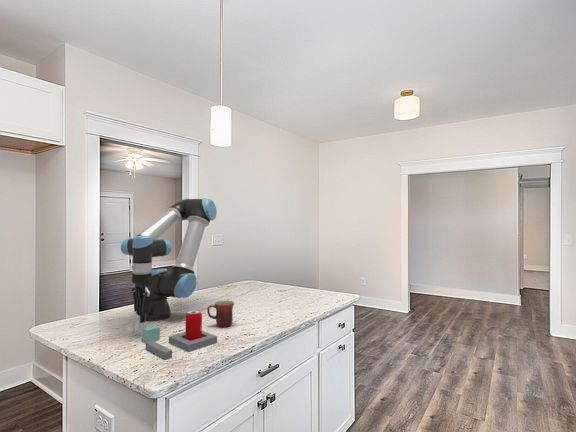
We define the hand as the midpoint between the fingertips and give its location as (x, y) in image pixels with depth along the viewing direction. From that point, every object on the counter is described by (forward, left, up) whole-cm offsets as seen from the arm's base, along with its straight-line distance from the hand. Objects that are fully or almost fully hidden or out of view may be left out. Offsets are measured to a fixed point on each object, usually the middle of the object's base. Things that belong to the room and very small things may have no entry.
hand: (140, 330), depth 140 cm
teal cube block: (+8, 0, -2) cm, 8 cm away
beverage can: (+23, +10, -3) cm, 25 cm away
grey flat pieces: (+23, +5, -2) cm, 24 cm away
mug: (+14, +30, -3) cm, 33 cm away
